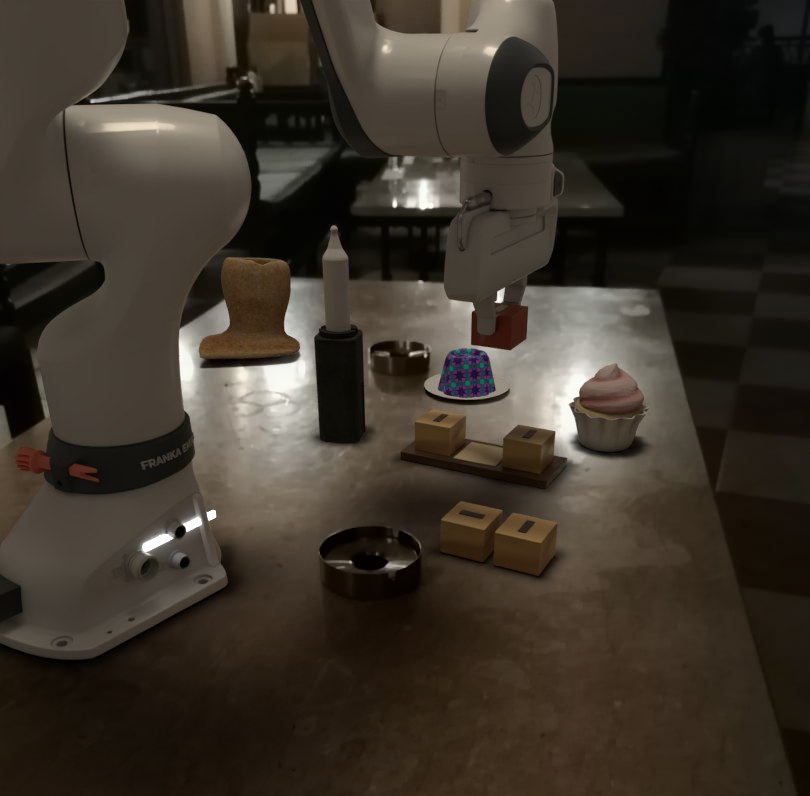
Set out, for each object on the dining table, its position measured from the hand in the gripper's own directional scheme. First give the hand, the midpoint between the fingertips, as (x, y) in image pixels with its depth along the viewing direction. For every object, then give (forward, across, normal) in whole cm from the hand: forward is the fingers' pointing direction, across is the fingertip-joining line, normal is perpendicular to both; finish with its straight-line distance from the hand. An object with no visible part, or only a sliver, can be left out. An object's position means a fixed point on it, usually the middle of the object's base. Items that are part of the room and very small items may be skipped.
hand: (499, 325), depth 94 cm
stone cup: (+17, +24, +51) cm, 59 cm away
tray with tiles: (+17, +2, +2) cm, 17 cm away
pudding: (+17, +24, +14) cm, 33 cm away
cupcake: (+17, +14, -9) cm, 24 cm away
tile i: (+17, -17, -5) cm, 24 cm away
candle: (+17, +2, +21) cm, 27 cm away
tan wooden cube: (+17, -17, -10) cm, 26 cm away
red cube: (+2, 0, 0) cm, 2 cm away
